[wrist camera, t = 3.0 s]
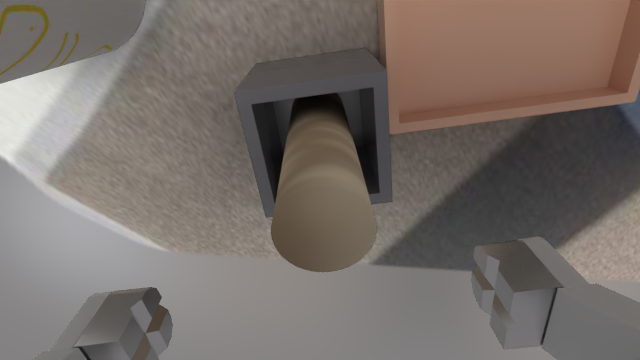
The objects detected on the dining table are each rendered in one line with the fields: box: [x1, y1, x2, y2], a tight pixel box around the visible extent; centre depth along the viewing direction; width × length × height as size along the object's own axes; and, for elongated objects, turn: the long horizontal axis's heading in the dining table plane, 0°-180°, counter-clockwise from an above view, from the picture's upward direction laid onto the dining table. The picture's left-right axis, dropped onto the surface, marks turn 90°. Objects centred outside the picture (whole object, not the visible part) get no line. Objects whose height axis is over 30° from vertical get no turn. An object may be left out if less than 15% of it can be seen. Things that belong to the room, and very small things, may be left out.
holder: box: [234, 48, 392, 217], centre depth 19 cm, size 6×6×7 cm
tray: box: [377, 0, 640, 135], centre depth 18 cm, size 14×11×2 cm
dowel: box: [271, 93, 377, 272], centre depth 16 cm, size 3×3×12 cm
